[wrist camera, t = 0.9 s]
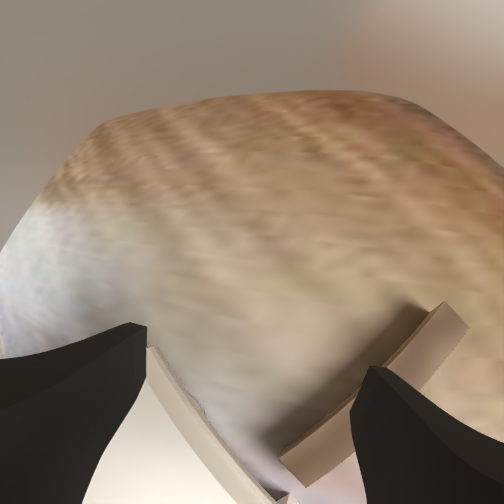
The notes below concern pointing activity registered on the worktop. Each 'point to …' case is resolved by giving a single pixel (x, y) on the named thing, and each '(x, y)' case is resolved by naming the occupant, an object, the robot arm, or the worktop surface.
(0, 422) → the robot arm
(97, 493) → the cream step stool
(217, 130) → the worktop surface
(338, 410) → the tan long block
